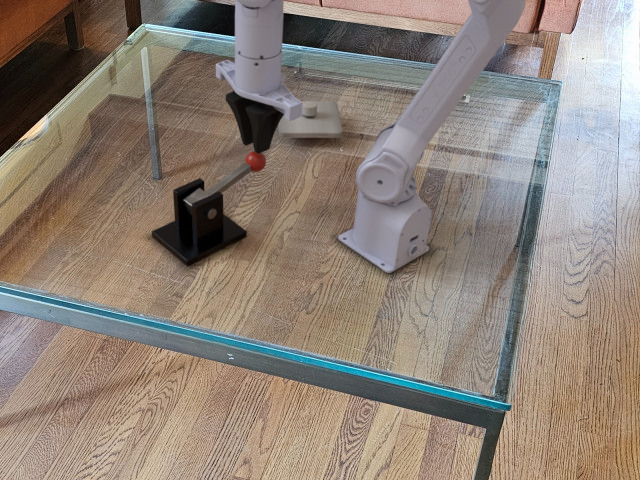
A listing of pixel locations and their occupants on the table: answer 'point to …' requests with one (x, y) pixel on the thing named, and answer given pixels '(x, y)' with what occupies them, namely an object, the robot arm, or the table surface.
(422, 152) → the robot arm
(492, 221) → the table surface
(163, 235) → the bracket
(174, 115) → the table surface
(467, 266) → the table surface
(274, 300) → the table surface
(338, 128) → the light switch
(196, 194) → the lever
